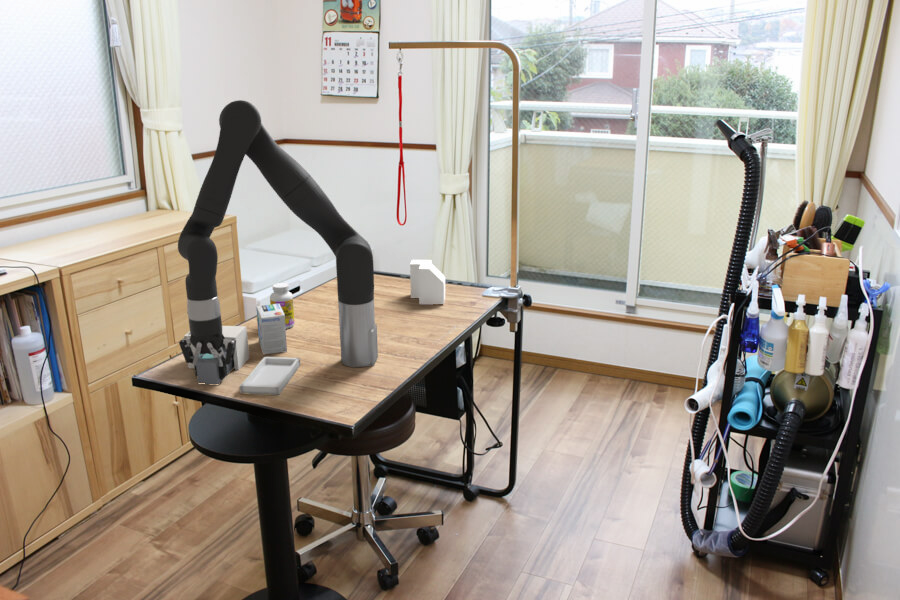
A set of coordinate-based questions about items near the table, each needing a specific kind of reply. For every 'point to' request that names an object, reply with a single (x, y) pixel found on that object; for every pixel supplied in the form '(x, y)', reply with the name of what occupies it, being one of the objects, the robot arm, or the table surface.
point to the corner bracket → (427, 282)
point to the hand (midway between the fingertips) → (211, 377)
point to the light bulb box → (271, 328)
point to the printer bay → (240, 348)
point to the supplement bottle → (284, 302)
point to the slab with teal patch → (210, 368)
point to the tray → (270, 375)
